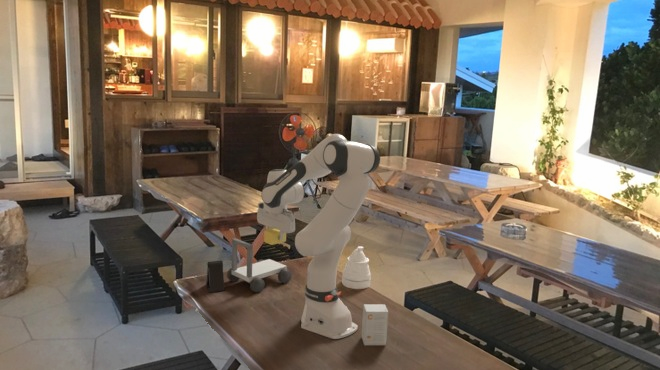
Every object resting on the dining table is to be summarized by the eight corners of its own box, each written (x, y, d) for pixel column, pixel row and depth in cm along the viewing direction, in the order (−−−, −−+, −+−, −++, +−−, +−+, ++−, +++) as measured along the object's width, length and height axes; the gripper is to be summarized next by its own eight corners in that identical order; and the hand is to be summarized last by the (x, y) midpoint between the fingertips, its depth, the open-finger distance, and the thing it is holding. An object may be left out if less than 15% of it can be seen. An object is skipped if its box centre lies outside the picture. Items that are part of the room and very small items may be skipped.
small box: (382, 337, 197) (385, 303, 195) (386, 345, 191) (388, 311, 189) (360, 337, 197) (363, 303, 194) (363, 345, 190) (366, 311, 188)
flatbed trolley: (264, 270, 257) (265, 228, 252) (291, 281, 245) (292, 237, 240) (226, 281, 241) (227, 237, 236) (253, 294, 229) (254, 247, 224)
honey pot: (375, 287, 243) (378, 249, 240) (350, 290, 238) (352, 251, 234) (361, 276, 255) (364, 240, 251) (337, 280, 249) (339, 242, 246)
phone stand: (224, 291, 231) (224, 264, 228) (210, 292, 228) (210, 265, 226) (219, 283, 239) (219, 257, 236) (205, 284, 236) (205, 258, 234)
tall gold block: (286, 241, 231) (286, 230, 230) (271, 245, 226) (272, 233, 224) (278, 238, 235) (278, 227, 234) (264, 241, 229) (264, 230, 228)
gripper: (299, 210, 223) (297, 242, 226) (266, 200, 236) (265, 231, 239) (288, 213, 218) (287, 245, 221) (255, 202, 231) (254, 233, 234)
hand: (275, 238), depth 230 cm, fingers closed on tall gold block, 5 cm apart
